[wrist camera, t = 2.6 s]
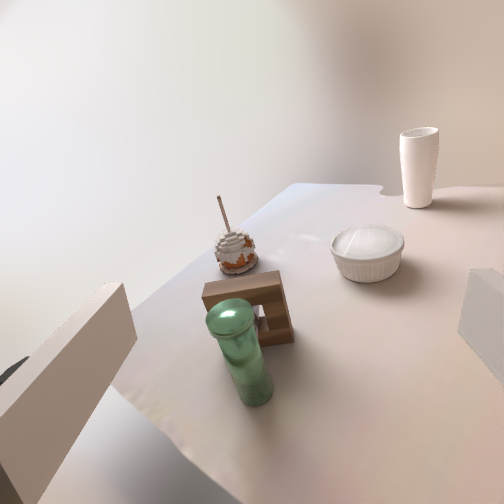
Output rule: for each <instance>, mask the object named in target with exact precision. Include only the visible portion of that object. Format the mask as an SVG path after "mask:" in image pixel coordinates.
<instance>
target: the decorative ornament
mask: <svg viewBox="0 0 504 504" xmlns="http://www.w3.org/2000/svg"><path fill="white" fill-rule="evenodd" d="M217 199H218V202H219V205H220V209H221V212H222V215H223V218H224V221H225V224H226V228H227V229H226V230H224V231H223V233H222V234H219V235H218V238H216V240H217V241H214V243H215V247H213V249H214V253H215V256H216V258H217V261H218V262H219V261H220V262H221V263H219V267H220V270H221V271H224V273H228V274H229V273H231V274H234V273H237V274H239V273H242V272H245V271H248V269H249V268H252V267H253V265H255V263H257V261H256V260H257V259H258V256H257V254H256V252H254V250H253V249H255V245H254V242H253V239H252V237H249V235H248V233H245V232H244V230H241V229H240V228H238V229H234V227H233V228H229V224H228V221H227V218H226V214H225V211H224V208H223V205H222V201H221V198H220V195H218V196H217Z"/></svg>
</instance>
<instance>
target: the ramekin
mask: <svg viewBox="0 0 504 504" xmlns="http://www.w3.org/2000/svg"><path fill="white" fill-rule="evenodd" d="M403 248H404V238H403V236H402V235H401V234H400V233H399V232H398V231H396V230H394V229H392V228H389V227H385V226H379V225H363V226H357V227H353V228H349V229H347V230H344V231H342V232H340V233H339V234H337V235H336V236H335V237H334V238H333V239H332V240H331V242H330V250H331V253H332V255H333V256H334V259H335V262H336V265H337V267H338V270H339V271H340V273H341V274H342V275H343V276H345V277H346V278H348V279H350V280H352V281H356V282H362V283H372V282H378V281H382V280H384V279H386V278H388V277H390V276H391V275H392V274H393V273H395V271H396V270H397V268H398V266H399V263H400V258H401V253H402V250H403Z"/></svg>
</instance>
